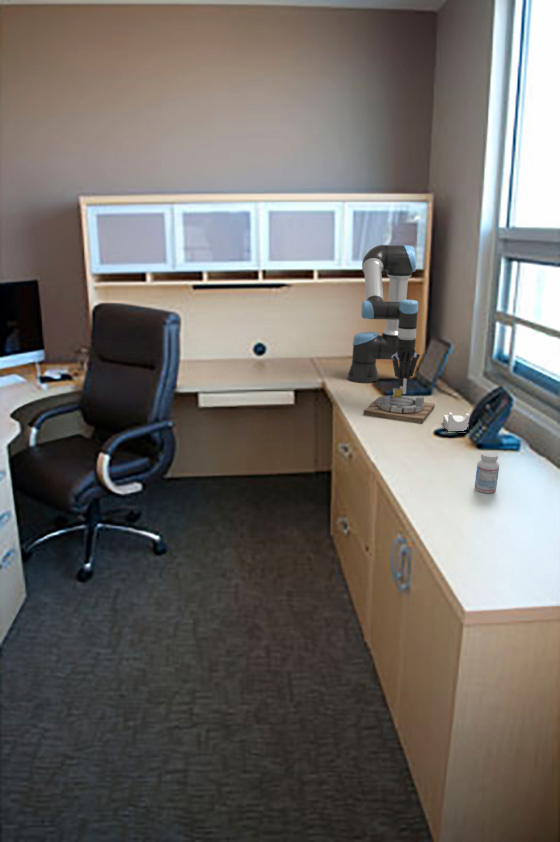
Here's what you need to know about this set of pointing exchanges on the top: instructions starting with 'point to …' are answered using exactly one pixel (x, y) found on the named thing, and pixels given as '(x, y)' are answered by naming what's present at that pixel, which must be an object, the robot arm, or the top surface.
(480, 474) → the pill bottle
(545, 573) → the top surface
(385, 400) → the grey block ring
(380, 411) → the walnut base
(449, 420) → the bracket
